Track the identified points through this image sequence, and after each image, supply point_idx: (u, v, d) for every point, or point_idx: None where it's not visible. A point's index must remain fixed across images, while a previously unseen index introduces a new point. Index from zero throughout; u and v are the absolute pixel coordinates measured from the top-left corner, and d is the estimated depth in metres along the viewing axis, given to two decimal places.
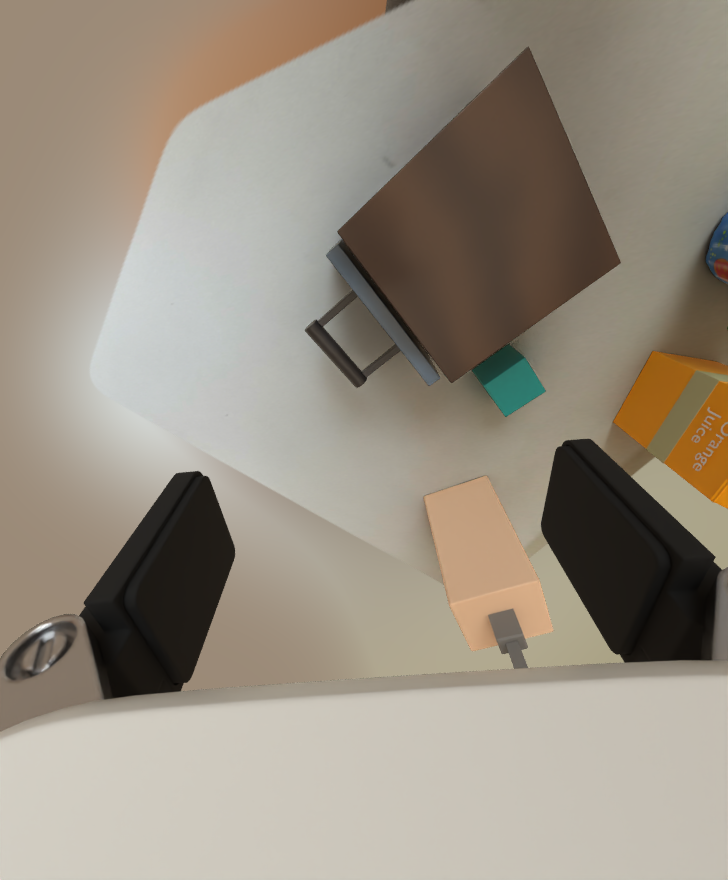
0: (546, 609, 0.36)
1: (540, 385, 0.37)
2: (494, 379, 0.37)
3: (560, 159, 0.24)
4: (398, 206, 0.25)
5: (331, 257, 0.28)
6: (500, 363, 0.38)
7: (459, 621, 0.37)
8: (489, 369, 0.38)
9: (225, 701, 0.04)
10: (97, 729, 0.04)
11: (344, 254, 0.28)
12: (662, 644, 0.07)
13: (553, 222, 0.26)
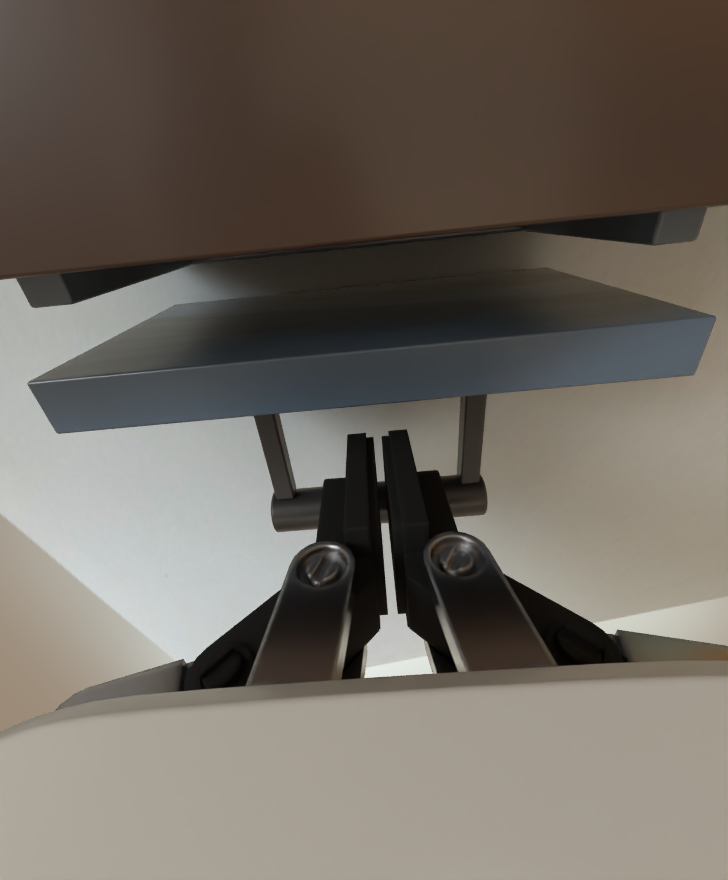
0: None
1: None
2: None
3: None
4: None
5: (67, 423, 0.08)
6: None
7: None
8: None
9: (225, 700, 0.04)
10: (97, 729, 0.04)
11: (68, 382, 0.07)
12: (407, 600, 0.08)
13: None
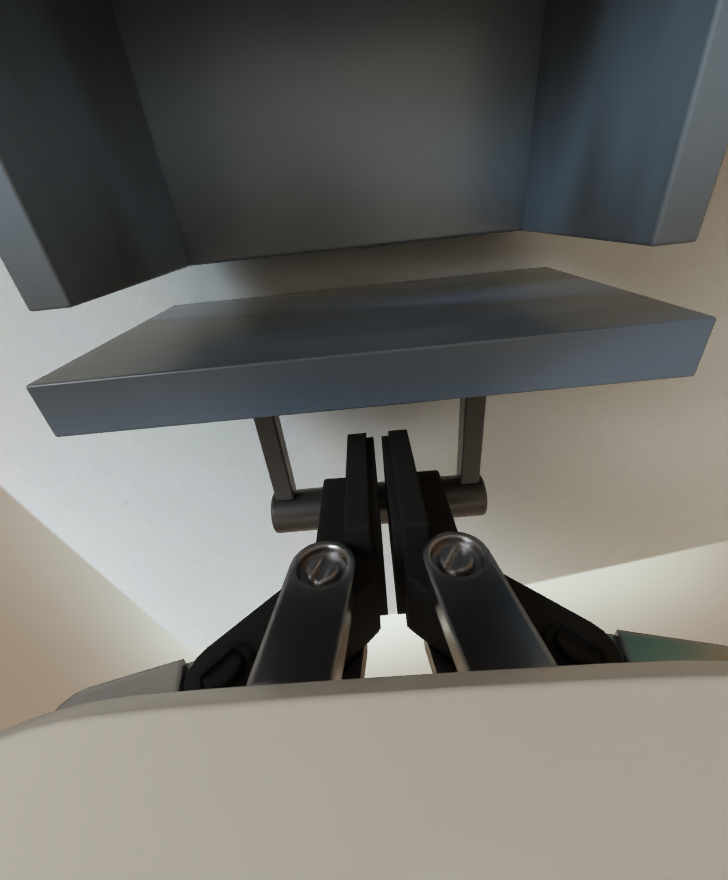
0: None
1: None
2: None
3: None
4: None
5: (66, 426, 0.08)
6: None
7: None
8: None
9: (225, 700, 0.04)
10: (97, 729, 0.04)
11: (67, 386, 0.07)
12: (407, 600, 0.08)
13: None
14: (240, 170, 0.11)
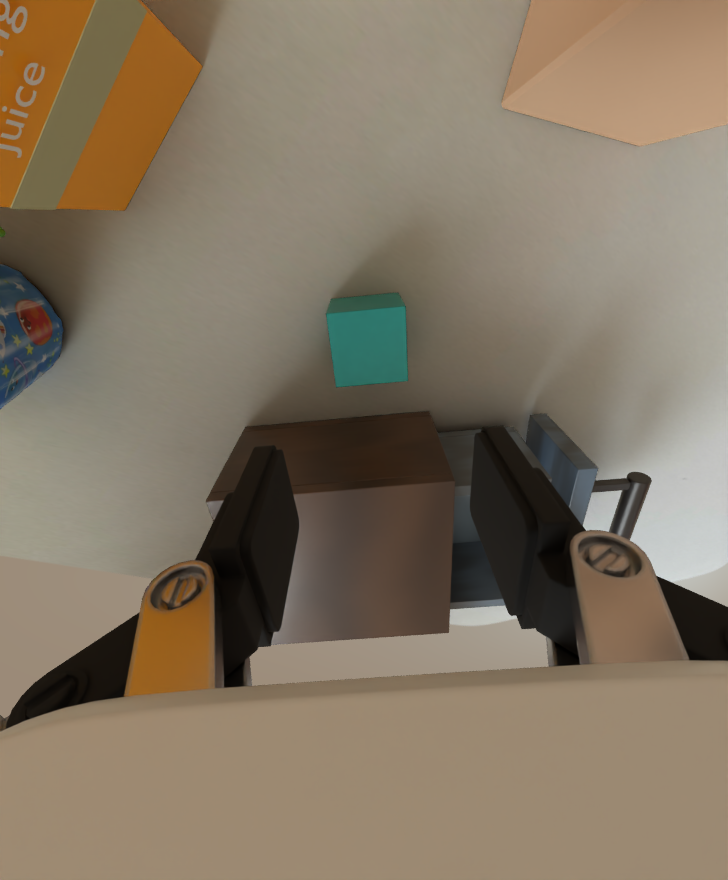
0: None
1: (330, 330, 0.22)
2: (389, 381, 0.23)
3: None
4: (394, 624, 0.28)
5: None
6: None
7: None
8: None
9: (225, 700, 0.04)
10: (97, 729, 0.04)
11: None
12: (536, 601, 0.08)
13: None
14: None
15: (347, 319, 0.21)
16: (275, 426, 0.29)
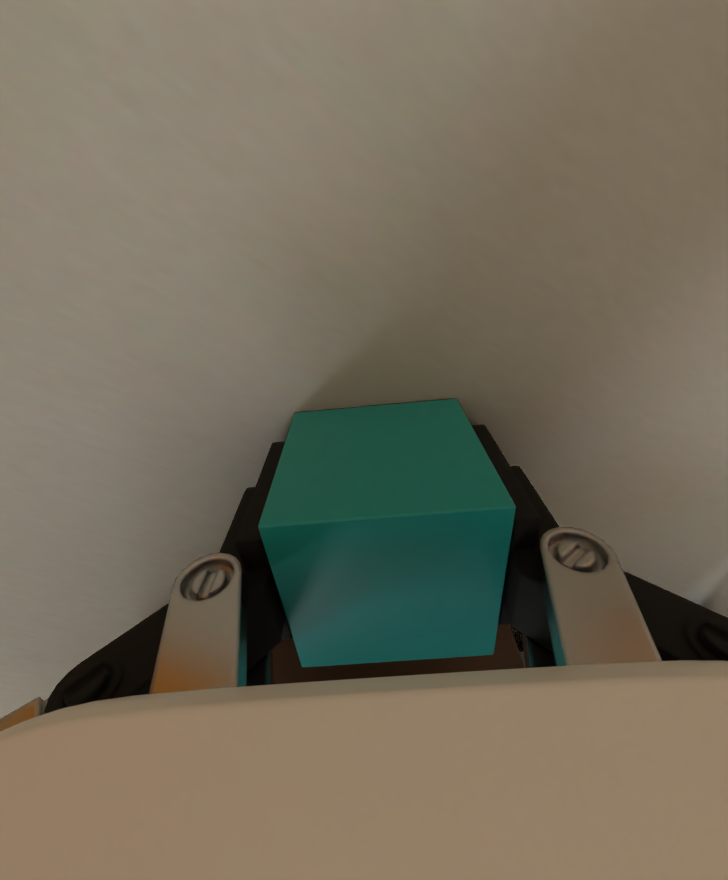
0: None
1: (276, 563, 0.07)
2: (445, 657, 0.09)
3: None
4: None
5: None
6: None
7: None
8: None
9: (225, 702, 0.04)
10: (97, 729, 0.04)
11: None
12: (510, 597, 0.08)
13: None
14: None
15: (326, 539, 0.07)
16: None
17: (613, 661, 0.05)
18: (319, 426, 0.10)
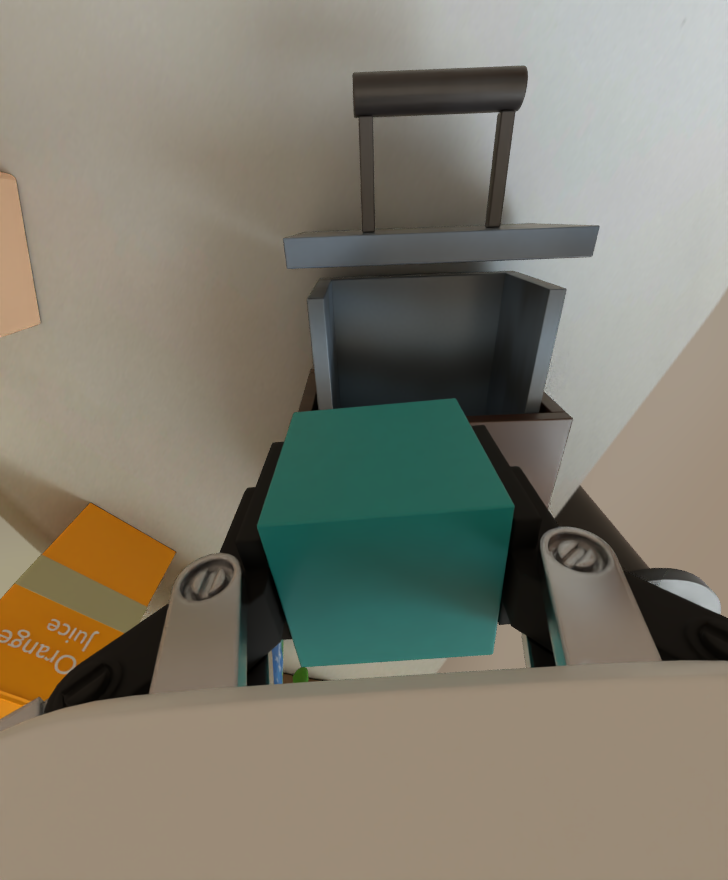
0: None
1: (275, 562, 0.07)
2: (445, 656, 0.09)
3: None
4: None
5: (590, 232, 0.16)
6: None
7: None
8: None
9: (225, 701, 0.04)
10: (97, 729, 0.04)
11: (574, 255, 0.16)
12: (510, 597, 0.08)
13: None
14: (464, 313, 0.24)
15: (325, 539, 0.07)
16: None
17: (613, 661, 0.05)
18: (318, 426, 0.10)
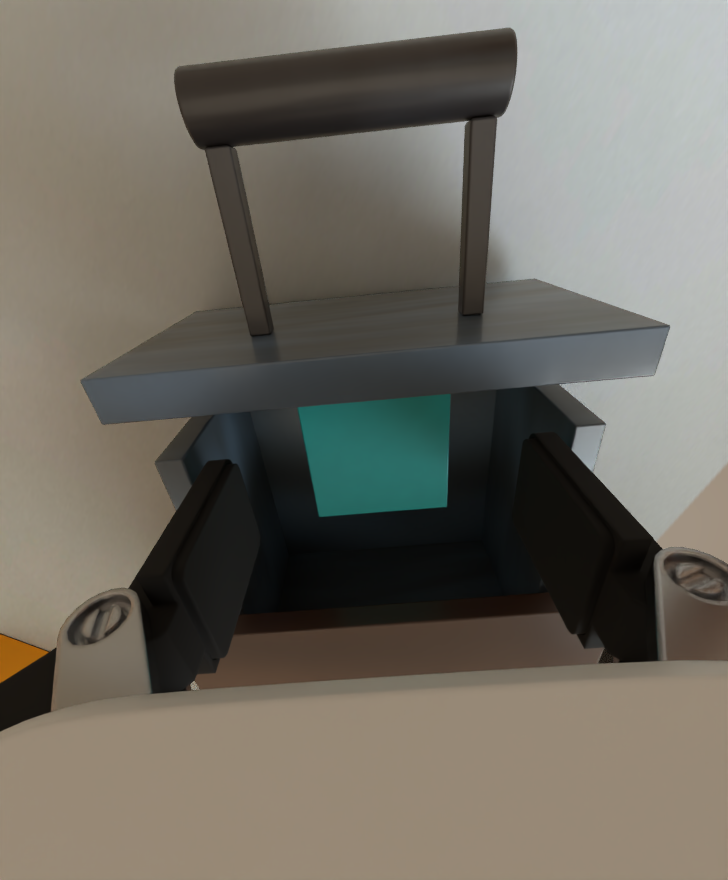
0: None
1: (305, 428, 0.11)
2: (414, 508, 0.13)
3: None
4: None
5: (651, 337, 0.08)
6: None
7: None
8: None
9: (225, 702, 0.04)
10: (96, 729, 0.04)
11: (620, 375, 0.09)
12: (609, 622, 0.07)
13: None
14: None
15: (337, 410, 0.11)
16: None
17: None
18: None
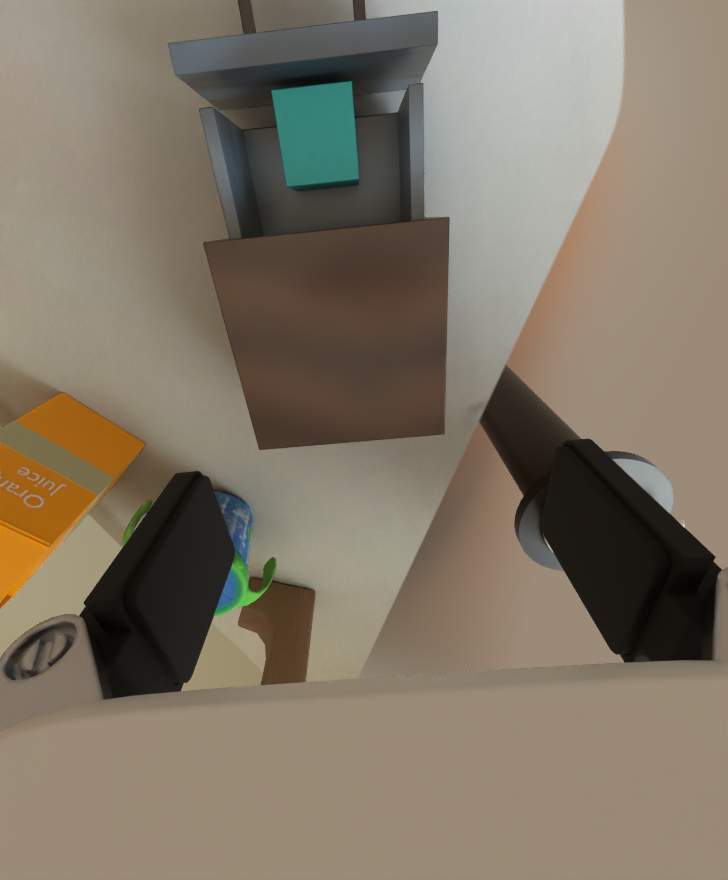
0: None
1: (276, 111, 0.21)
2: (340, 179, 0.23)
3: (365, 431, 0.29)
4: (423, 295, 0.24)
5: (430, 18, 0.18)
6: (321, 185, 0.25)
7: None
8: (337, 184, 0.25)
9: (225, 701, 0.04)
10: (97, 729, 0.04)
11: (421, 44, 0.19)
12: (662, 644, 0.07)
13: (323, 413, 0.28)
14: (367, 158, 0.26)
15: (293, 97, 0.21)
16: None
17: None
18: None
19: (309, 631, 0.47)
